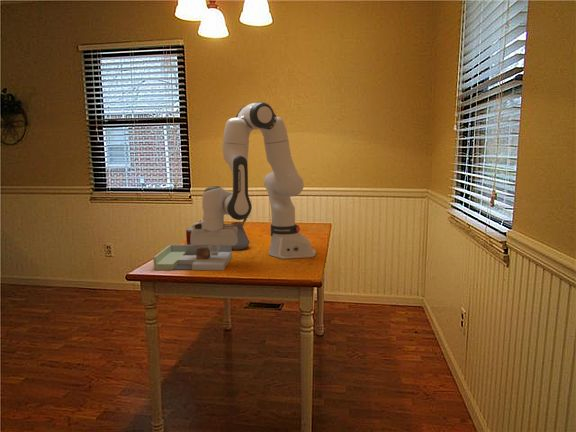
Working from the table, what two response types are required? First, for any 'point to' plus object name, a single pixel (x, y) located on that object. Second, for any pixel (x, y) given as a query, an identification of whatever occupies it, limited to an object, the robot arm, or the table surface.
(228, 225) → the robot arm
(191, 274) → the table surface
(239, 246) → the coffee pot
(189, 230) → the canned food
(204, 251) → the walnut block
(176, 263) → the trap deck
